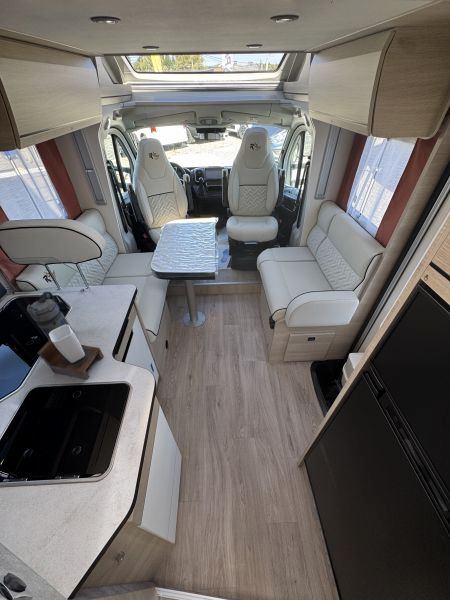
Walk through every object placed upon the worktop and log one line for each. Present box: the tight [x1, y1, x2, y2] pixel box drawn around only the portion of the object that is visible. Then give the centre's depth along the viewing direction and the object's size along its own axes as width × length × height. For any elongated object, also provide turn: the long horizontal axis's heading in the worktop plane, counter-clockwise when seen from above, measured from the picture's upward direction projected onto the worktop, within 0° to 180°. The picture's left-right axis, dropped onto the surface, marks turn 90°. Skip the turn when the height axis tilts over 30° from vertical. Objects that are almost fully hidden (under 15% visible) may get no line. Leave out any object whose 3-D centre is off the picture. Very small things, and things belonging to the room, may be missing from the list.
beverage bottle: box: [26, 291, 75, 341], centre depth 113 cm, size 10×13×25 cm
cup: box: [49, 324, 85, 363], centre depth 100 cm, size 7×7×15 cm
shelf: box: [37, 339, 105, 381], centre depth 105 cm, size 16×12×14 cm
